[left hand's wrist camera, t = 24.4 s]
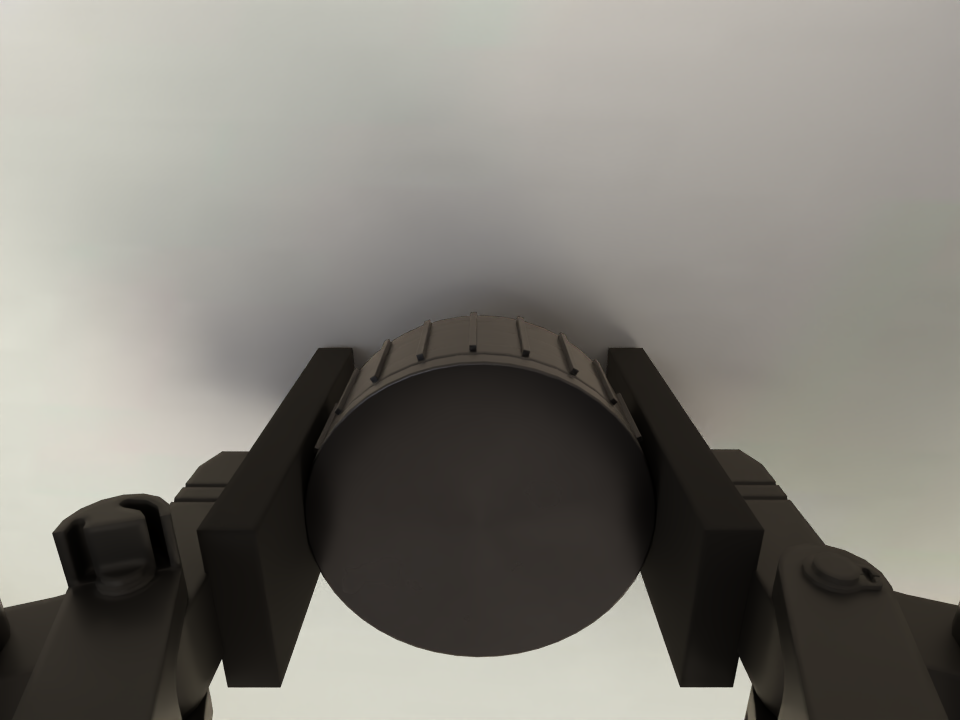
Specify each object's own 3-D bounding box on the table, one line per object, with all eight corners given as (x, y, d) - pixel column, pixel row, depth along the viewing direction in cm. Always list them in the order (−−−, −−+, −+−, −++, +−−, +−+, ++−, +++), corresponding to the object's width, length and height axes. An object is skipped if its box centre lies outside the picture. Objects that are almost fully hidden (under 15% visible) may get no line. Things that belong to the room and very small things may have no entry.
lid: (452, 244, 11) (445, 278, 9) (692, 432, 12) (738, 502, 10) (273, 472, 13) (230, 548, 10) (501, 616, 14) (505, 708, 12)
